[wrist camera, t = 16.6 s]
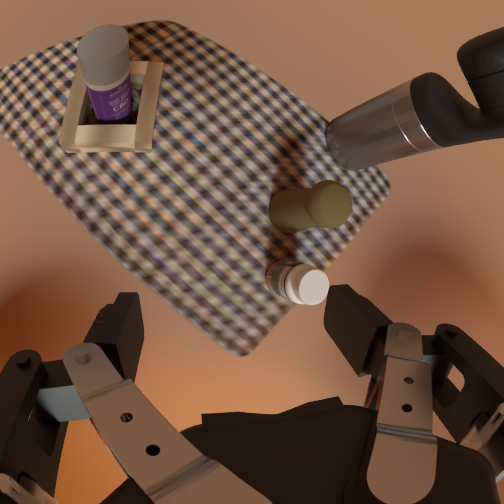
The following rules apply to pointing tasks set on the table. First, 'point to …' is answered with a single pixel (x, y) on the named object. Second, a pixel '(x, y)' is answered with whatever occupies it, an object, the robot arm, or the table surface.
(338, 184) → the olive pepper mill
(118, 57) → the container
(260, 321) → the table surface
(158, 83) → the square holder
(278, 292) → the pill bottle
